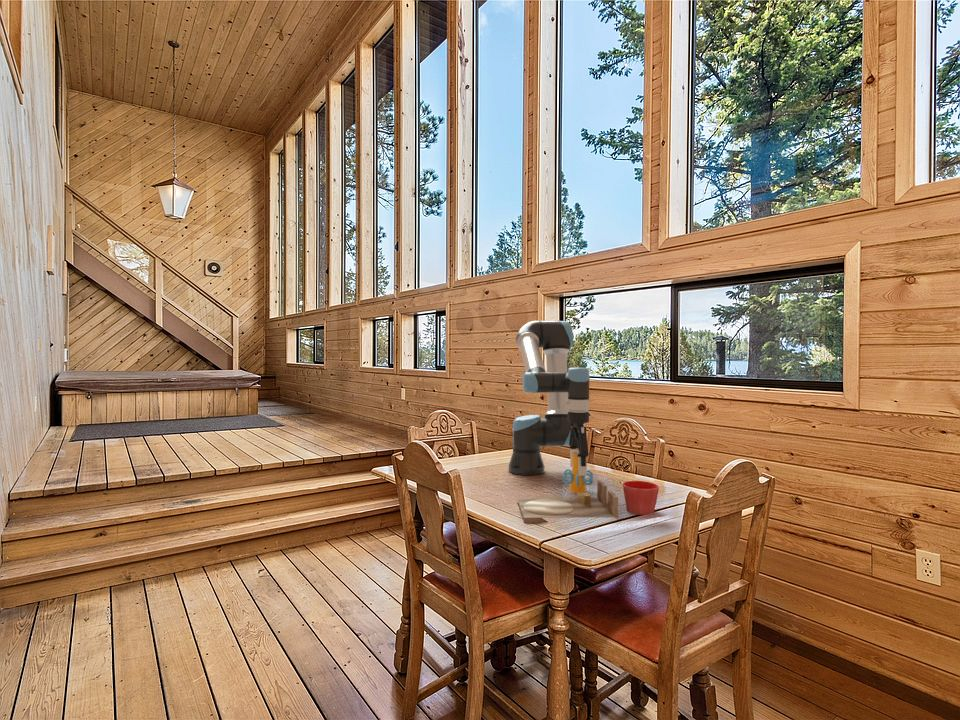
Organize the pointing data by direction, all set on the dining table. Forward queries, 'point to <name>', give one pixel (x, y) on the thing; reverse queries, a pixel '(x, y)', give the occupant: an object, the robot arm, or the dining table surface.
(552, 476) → the dining table surface
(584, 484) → the cylinder
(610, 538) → the dining table surface
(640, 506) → the flower pot
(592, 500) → the board
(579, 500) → the wooden block
